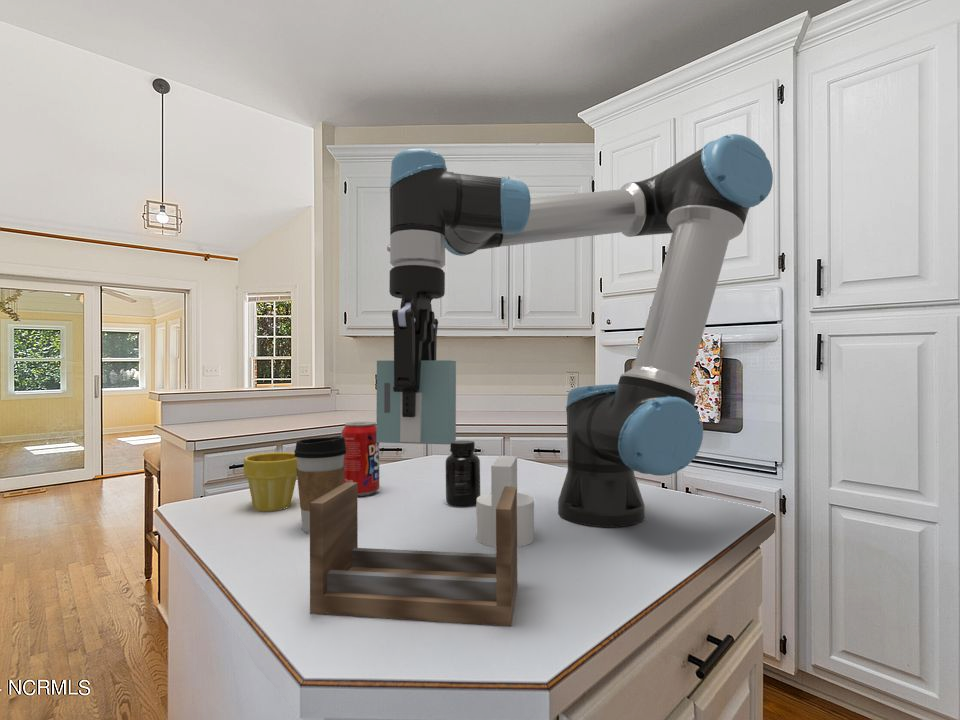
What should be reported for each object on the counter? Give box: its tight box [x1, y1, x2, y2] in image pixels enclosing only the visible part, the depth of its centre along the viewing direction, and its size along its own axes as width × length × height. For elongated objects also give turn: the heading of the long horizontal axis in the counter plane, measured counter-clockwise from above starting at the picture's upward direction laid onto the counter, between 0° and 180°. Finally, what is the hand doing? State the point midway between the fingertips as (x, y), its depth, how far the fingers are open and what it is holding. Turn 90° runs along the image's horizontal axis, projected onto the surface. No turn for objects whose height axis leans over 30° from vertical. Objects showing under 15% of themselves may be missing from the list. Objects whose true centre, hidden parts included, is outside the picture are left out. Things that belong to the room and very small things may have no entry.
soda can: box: [340, 421, 380, 497], centre depth 108 cm, size 8×8×15 cm
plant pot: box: [243, 451, 298, 512], centre depth 98 cm, size 10×10×10 cm
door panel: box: [376, 359, 457, 446], centre depth 69 cm, size 10×4×11 cm, turn 80°
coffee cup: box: [293, 436, 347, 534], centre depth 85 cm, size 8×8×15 cm
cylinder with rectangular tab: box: [476, 455, 535, 548], centre depth 79 cm, size 9×9×12 cm
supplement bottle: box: [445, 440, 481, 508], centre depth 100 cm, size 7×7×12 cm
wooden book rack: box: [309, 482, 518, 627], centre depth 59 cm, size 22×10×12 cm, turn 82°
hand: (416, 438), depth 69 cm, fingers closed on door panel, 4 cm apart
